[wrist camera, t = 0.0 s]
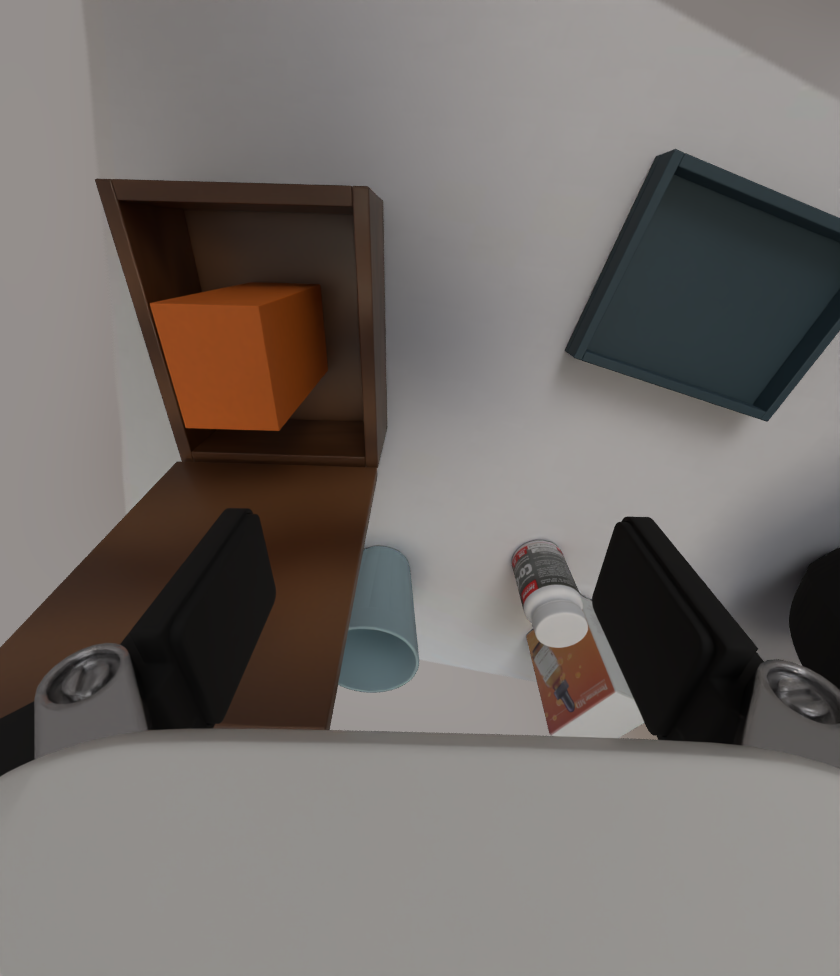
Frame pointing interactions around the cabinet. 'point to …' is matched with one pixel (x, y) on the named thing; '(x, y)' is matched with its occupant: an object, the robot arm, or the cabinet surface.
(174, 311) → the block
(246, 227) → the chest
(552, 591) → the pill bottle
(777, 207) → the tray
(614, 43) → the cabinet surface
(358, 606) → the cup
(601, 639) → the small box
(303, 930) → the robot arm
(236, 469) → the lid
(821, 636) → the table lamp
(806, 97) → the cabinet surface
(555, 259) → the cabinet surface
